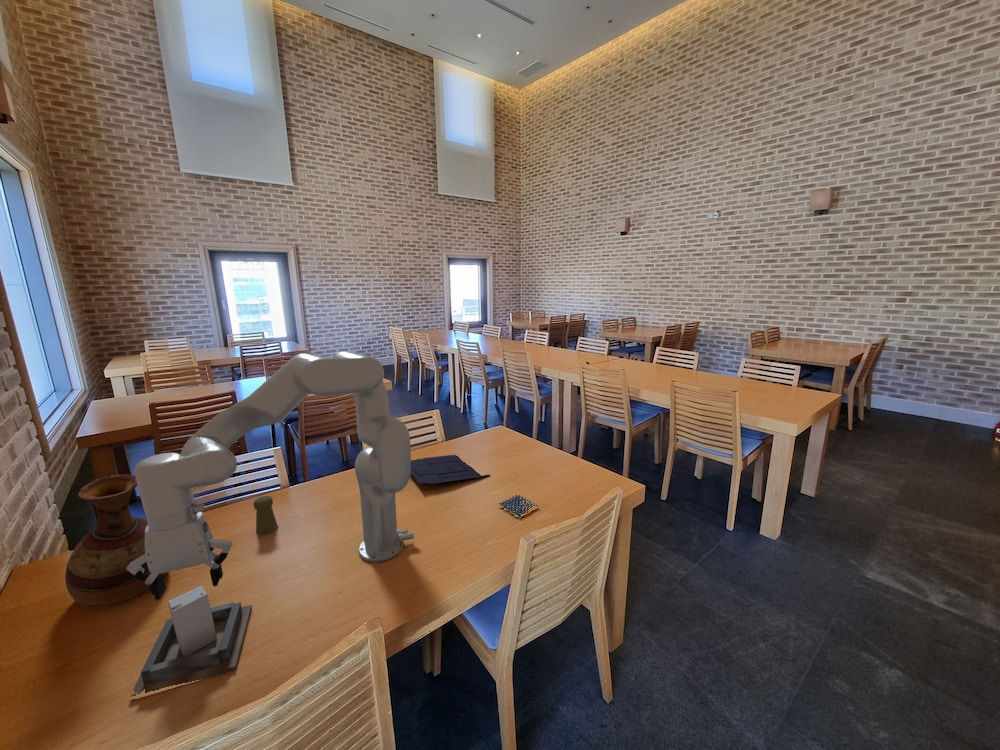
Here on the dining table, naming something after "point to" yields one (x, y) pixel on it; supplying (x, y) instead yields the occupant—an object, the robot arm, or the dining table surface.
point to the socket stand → (204, 663)
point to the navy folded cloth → (441, 469)
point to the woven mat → (516, 505)
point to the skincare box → (192, 620)
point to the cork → (264, 516)
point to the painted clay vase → (108, 545)
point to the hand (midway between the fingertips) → (189, 588)
